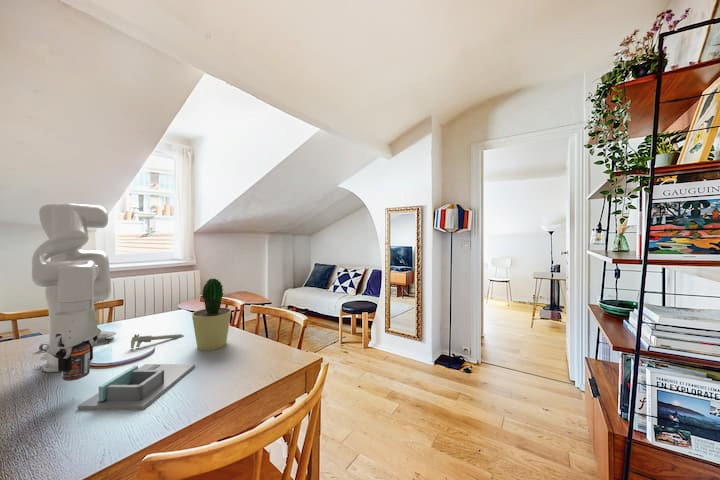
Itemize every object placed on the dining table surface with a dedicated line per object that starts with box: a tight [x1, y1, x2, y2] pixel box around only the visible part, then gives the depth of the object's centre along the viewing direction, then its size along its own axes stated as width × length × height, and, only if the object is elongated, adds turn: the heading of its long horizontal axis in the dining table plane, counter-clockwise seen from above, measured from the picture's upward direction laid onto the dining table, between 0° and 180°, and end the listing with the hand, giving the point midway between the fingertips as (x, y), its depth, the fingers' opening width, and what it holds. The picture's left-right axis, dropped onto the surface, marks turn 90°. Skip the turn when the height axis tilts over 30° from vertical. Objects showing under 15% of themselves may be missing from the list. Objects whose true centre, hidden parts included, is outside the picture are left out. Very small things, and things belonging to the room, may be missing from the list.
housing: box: [77, 363, 196, 410], centre depth 92 cm, size 18×26×5 cm
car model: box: [38, 330, 117, 352], centre depth 125 cm, size 11×24×5 cm, turn 112°
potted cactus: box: [191, 277, 232, 351], centre depth 125 cm, size 15×15×30 cm
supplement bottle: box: [61, 341, 91, 382], centre depth 85 cm, size 6×6×11 cm
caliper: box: [130, 333, 185, 349], centre depth 128 cm, size 20×1×6 cm, turn 144°
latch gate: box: [98, 365, 139, 401], centre depth 87 cm, size 1×13×4 cm, turn 1°
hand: (76, 364), depth 85 cm, fingers closed on supplement bottle, 6 cm apart
